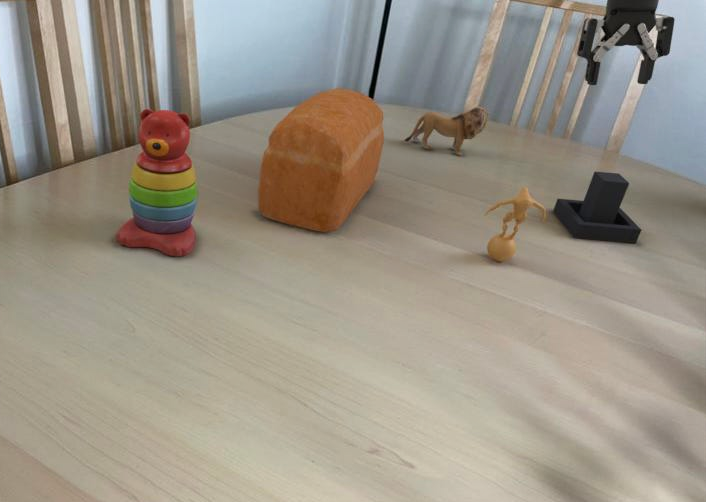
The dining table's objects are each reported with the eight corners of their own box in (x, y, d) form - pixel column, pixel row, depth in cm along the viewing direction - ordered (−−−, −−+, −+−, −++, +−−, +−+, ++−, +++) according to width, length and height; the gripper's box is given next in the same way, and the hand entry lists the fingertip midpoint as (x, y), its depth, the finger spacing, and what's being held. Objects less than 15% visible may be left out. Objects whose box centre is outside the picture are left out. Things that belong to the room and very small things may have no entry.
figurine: (523, 256, 110) (549, 180, 103) (532, 276, 105) (561, 197, 98) (467, 250, 111) (489, 173, 104) (473, 269, 106) (498, 190, 99)
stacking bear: (111, 244, 103) (110, 115, 92) (138, 215, 111) (140, 95, 101) (185, 259, 101) (192, 130, 91) (207, 229, 109) (216, 108, 99)
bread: (379, 181, 130) (398, 89, 121) (336, 238, 110) (354, 134, 101) (305, 163, 134) (318, 74, 125) (250, 216, 114) (260, 113, 105)
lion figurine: (477, 149, 149) (489, 104, 144) (479, 159, 144) (492, 112, 139) (403, 139, 150) (413, 94, 145) (403, 147, 146) (413, 101, 141)
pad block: (600, 219, 123) (619, 173, 119) (610, 230, 120) (629, 183, 115) (577, 217, 123) (594, 171, 118) (586, 227, 120) (604, 180, 115)
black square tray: (610, 216, 126) (616, 203, 125) (635, 243, 118) (641, 229, 116) (552, 211, 126) (557, 198, 124) (573, 238, 117) (579, 224, 116)
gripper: (602, -22, 116) (584, 88, 123) (694, -24, 116) (670, 85, 123) (582, -21, 123) (565, 83, 130) (669, -23, 123) (648, 81, 130)
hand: (617, 84), depth 126 cm, fingers open, 8 cm apart
